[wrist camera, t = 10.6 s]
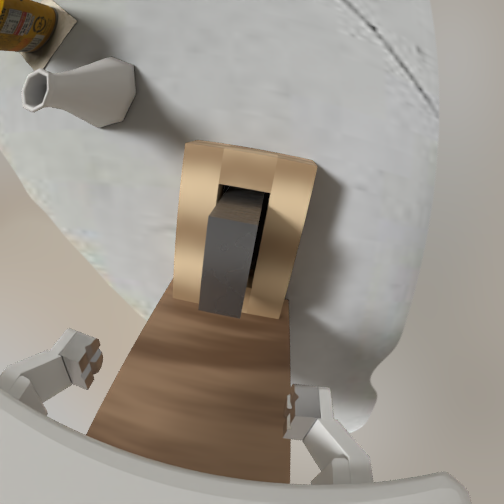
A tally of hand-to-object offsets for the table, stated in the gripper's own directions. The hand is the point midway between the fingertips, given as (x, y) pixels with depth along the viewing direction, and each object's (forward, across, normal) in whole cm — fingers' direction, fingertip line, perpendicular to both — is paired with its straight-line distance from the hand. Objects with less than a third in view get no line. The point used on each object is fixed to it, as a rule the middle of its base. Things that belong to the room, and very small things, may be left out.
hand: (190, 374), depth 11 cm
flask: (+18, +15, -11) cm, 26 cm away
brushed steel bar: (+18, 0, 0) cm, 18 cm away
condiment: (+18, +26, -19) cm, 37 cm away
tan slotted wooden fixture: (+18, 0, +2) cm, 18 cm away
